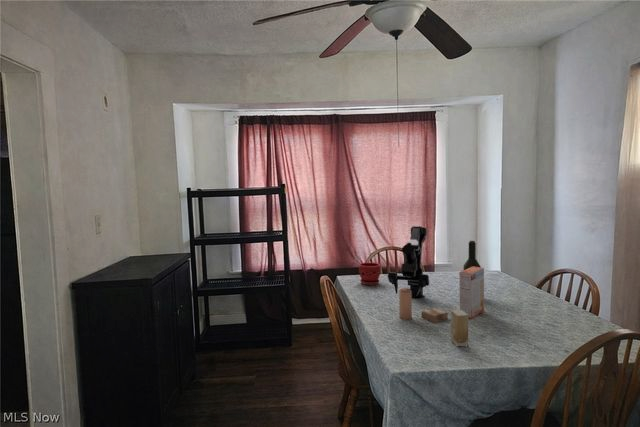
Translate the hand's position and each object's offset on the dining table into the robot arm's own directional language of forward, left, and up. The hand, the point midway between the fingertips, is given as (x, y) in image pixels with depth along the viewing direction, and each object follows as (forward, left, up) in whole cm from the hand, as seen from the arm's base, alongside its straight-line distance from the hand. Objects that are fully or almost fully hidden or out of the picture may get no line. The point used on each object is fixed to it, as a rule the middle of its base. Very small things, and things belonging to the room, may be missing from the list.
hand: (406, 294), depth 174 cm
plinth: (-8, +10, -10) cm, 16 cm away
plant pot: (-22, -54, -10) cm, 60 cm away
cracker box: (-26, +16, -10) cm, 32 cm away
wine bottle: (-47, 0, -10) cm, 48 cm away
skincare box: (+5, +34, -10) cm, 35 cm away
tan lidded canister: (+2, +2, -10) cm, 10 cm away
